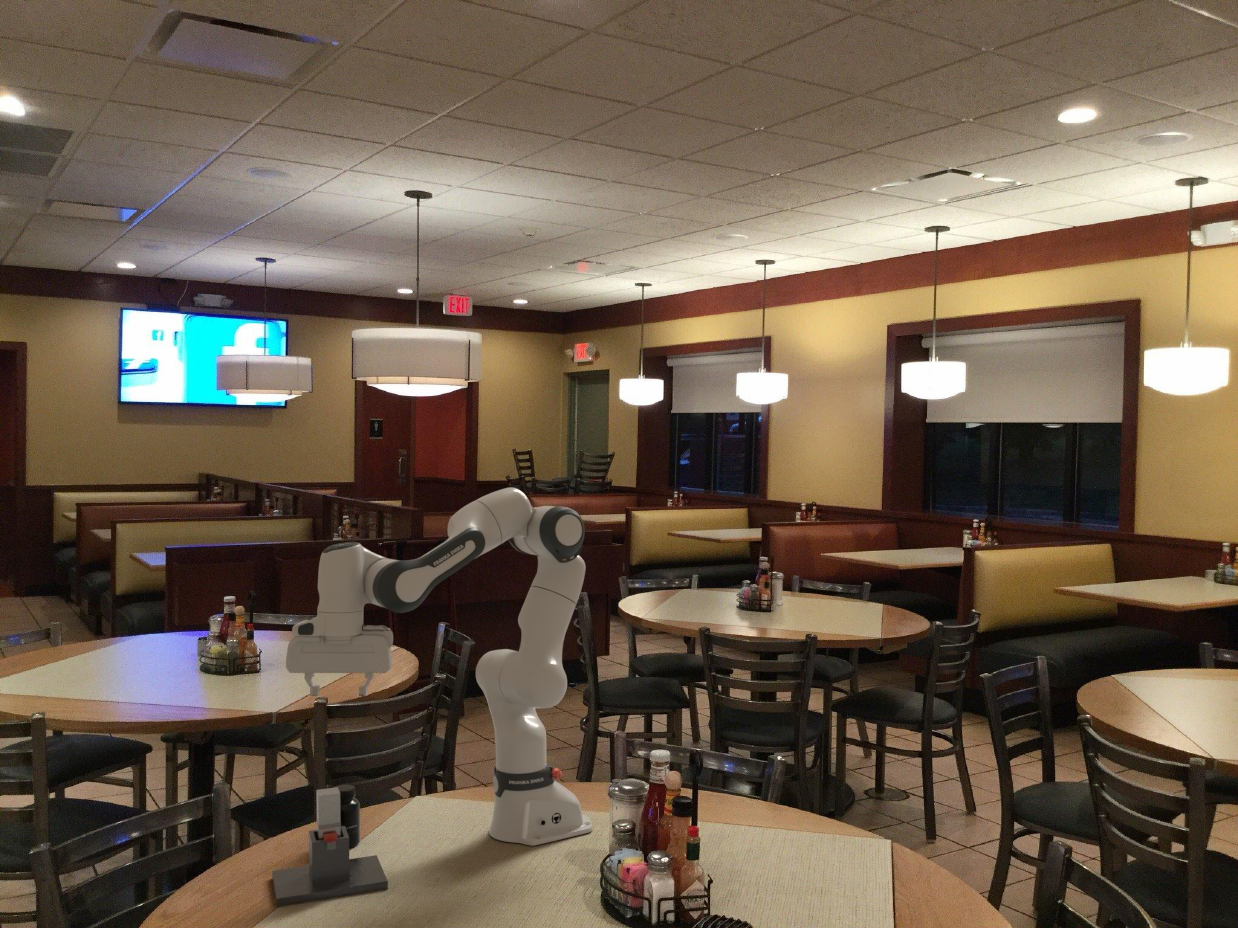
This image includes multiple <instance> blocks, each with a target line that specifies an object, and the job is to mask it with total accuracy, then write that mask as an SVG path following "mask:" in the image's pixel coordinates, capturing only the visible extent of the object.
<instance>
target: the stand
mask: <svg viewBox="0 0 1238 928" xmlns="http://www.w3.org/2000/svg"><path fill="white" fill-rule="evenodd" d="M308 861H309V862H308V865H301V866H296V867H288V868H283V869H282V868H281V869H276V870H272V872H271V874H272V884H273V891H274V898H275V907H277V908H278V907H285V906H291V905H297V904H303V903H311V902H316V901H321V900H322V901H323V900H328V899H334V898H341V897H347V896H352V895H359V894H364V893H370V892H372V893H373V892H377V891H383V890H388V889H389V887H388V886H389V881H388V879H387V876H386V873H385V871H384V869H383V867H382V864H381V863H380V860H379V858H378V855H377V854H375V855H369V856H368V855H367V856H362V857H355V858H350V848H349V836H348V833H347V831H346V828H345V826H341V837H339V838H337V833H330V834H324V840H318V841H317V829H313V830H308Z"/></svg>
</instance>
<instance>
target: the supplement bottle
mask: <svg viewBox="0 0 1238 928" xmlns="http://www.w3.org/2000/svg"><path fill="white" fill-rule="evenodd" d="M336 787H338V789H339V792H340V822H341V826H345V828H346V831H347V833H348V836H349V849H352V848H355V847H356V846H358V844H360V838H361V835H360V834H361V828H360V827H361V822H360V821H361V806H360V805H361V803H360V801H359V800H358V799H357V798H356V787H355V786H354V785H351V784H342V785H336V786H333V787H332V788H336Z"/></svg>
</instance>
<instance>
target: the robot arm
mask: <svg viewBox="0 0 1238 928" xmlns="http://www.w3.org/2000/svg"><path fill="white" fill-rule="evenodd" d="M585 535H586V534H585V524H584V520H583V517H582V516H581V515H580V514H579V513H578V512H577V511H576V510H574V509H573V508H570V507H567V506H562V505H558V506H553V505H542V506H537V507H536V506H535V507H534V506H533V505H532V504H531V501H530V500H529V498H528V497H527V495H526V494H525V493H524V492H523V491H522V490H520V489H519V488H517V487H506V488H502V489H499V490H496V491H493V492H490V493H488V494H486V495H483V496H481V497H479V498H477V499H476V500H474V501H471V502H469V503H468V504H466V505H464V506H463V507H461V508H460V509H459V510H457V511H456V512H455V513H454V514H453V515H452V516H450V518H449V521H448V523H447V536H448V538H447V539H446V540H445V541H444V542H442V543H440V544H439V545H437V546H436V547H434V548H433V549H431V550H430V551H428V552H427V553H425V554H423V555H422V556H420V557H418V558H415V559H409V560H408V559H407V560H398V559H393V558H389V557H385V556H382V555H380V554H377V553H375V552H372V551H371V550H369V549H368V548H366V547H364V546H362V544H361V543H360V542H356V541H348V542H347V541H346V542H339V543H335V544H332V545H329V546H327V547H326V548H324V549H323V551H322V552H321V555H320V557H319V559H320V560H319V562H318V563H319V564H318V573H317V575H318V576H317V578H318V579H317V591H318V596H319V600H318V601H319V602H318V605H317V608H316V609H317V611H316V613H317V615H316V616H315V617H310V618H307V619H306V620H303V621H300V622H297V623H296V624H294V625H293V626H292V630H291V631H292V635H293V637H292V638H291V639H290V640H289V643H288V644H287V645H288V646H287V649H286V659H285V668H286V670H287V672H289V673H291V674H304V681H305V682H306V684H307V685H308V688H309V695H310V697H319V696H320V693H321V691H320V689H321V686H320V685H317V684H316V683H315V681H314V679H313V678H314V677H315V674H364V679H366V681H365V683H364V685H359V687H358V697H367V696H368V695H369V687H370V686H369V685H370V684H371V682H372V680H373V679H374V677H375V674H386V673H388V672H389V671H390V670H391V669H392V667H393V655H392V654H393V653H392V647H393V644H394V633H393V630H392V629H391V628H390V627H387V626H386V625H382V624H381V625H371V624H370V625H369V624H367V625H366V624H364V610H365V609H364V607H365V605H366V604H372V605H375V606H379V607H381V608H385V609H387V610H389V611H390V612H394V613H399V614H403V613H409V612H411V611H413V610H415V609H417V608H418V607H419V606H420V605H422V603H423V602H424V601H425V600H426V598H427V597H428V595H429V594H430V593H431V592H432V590H433V589H434V588H435V587H436V586H438V584H440V583H441V582H443V581H445V580H446V579H447V578H449V577H450V576H452V575H453V574H455V573H456V572H458V571H459V570H461V569H463V567H465V566H467V565H468V564H469V563H471V562H472V561H474V560H475V559H477V558H478V557H480V556H482V555H484V554H486V553H488V552H490V551H492V550H493V549H495V548H497V547H498V546H500V545H502V544H504V543H505V542H506V541H508V542H509V544H510V545H511V547H512V548H513V549H515V550H516V551H517V552H519V553H521V554H524V555H527V556H528V555H529V556H531V555H532V556H537V569H536V571H537V572H536V574H535V577H534V578H533V580H532V582H531V585H530V586H529V587H530V588H529V590H528V592H527V594H526V598H525V600H524V602H523V605H522V607H521V608H520V609H521V610H520V612H519V615H518V618H517V622H518V626H519V628H520V632H521V639H520V640H521V641H520V645H519V649H518V650H513V649H509V648H502V649H495V650H491V651H488V652H486V653H484V654H483V655H482V656H481V658H480V659H479V660H478V662H477V664H476V666H475V679H476V682H477V684H478V686H479V688H480V689H481V691H482V692H483V694H484V696H485V699H486V701H487V705H488V709H489V711H490V716H491V720H492V724H493V731H494V739H495V742H494V743H495V766H494V768H493V792H494V806H493V813H492V819H491V824H490V827H489V831H488V834H489V836H490V837H492V838H493V839H495V840H498V841H502V842H508V843H515V844H517V843H518V844H523V845H527V846H537V845H542V844H543V845H544V844H546V843H550V842H551V843H552V842H556V841H559V840H564V839H567V838H572V837H575V836H580V835H584V834H589V833H590V832H592V831H593V822H592V820H591V819H590V817H588V816H587V815H586V814H585V813H583V812H582V806H581V803H580V801H579V799H578V798H577V796H576V795H575V794H574V793H573V792H572V791H570V790H569V789H568V788H566V787H565V786H564V785H562V784H561V783H559V782H557V781H556V780H560V779H562V777H563V772H562V771H561V770H560V769H559V768H557V767H554V766H553V765H551V764H549V763H548V762H547V731H546V728H545V725H544V723H542V720H541V719H540V718H539V716H538V713H537V710H536V709H549V708H553V707H555V706H556V705H558V704H560V702H561V701H562V700H563V698H564V696H565V695H566V692H567V688H568V678H567V677H568V676H567V674H566V671H565V669H564V666H563V648H564V642H565V641H564V640H565V636H566V633H567V630H568V627H569V625H570V623H571V620H572V617H573V614H574V613H575V612H574V611H575V609H576V606H577V603H578V601H579V597H580V596H581V595H580V594H581V592H582V589H583V588H582V587H583V585H584V580H585V575H586V569H587V568H586V562H585V560H584V559H583V558H582V557H581V555H580V554H581V553H582V551H583V547H584V546H583V543H584V539H585Z"/></svg>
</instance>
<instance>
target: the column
mask: <svg viewBox="0 0 1238 928" xmlns="http://www.w3.org/2000/svg"><path fill="white" fill-rule="evenodd" d="M335 787H336V786H335ZM315 793H316V830H317V841H318V840H324V834H330V833H337V838H339V837H341V822H340V792H339V789H338V787H336V788H333V787H330V788H321V789H316V792H315Z"/></svg>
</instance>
